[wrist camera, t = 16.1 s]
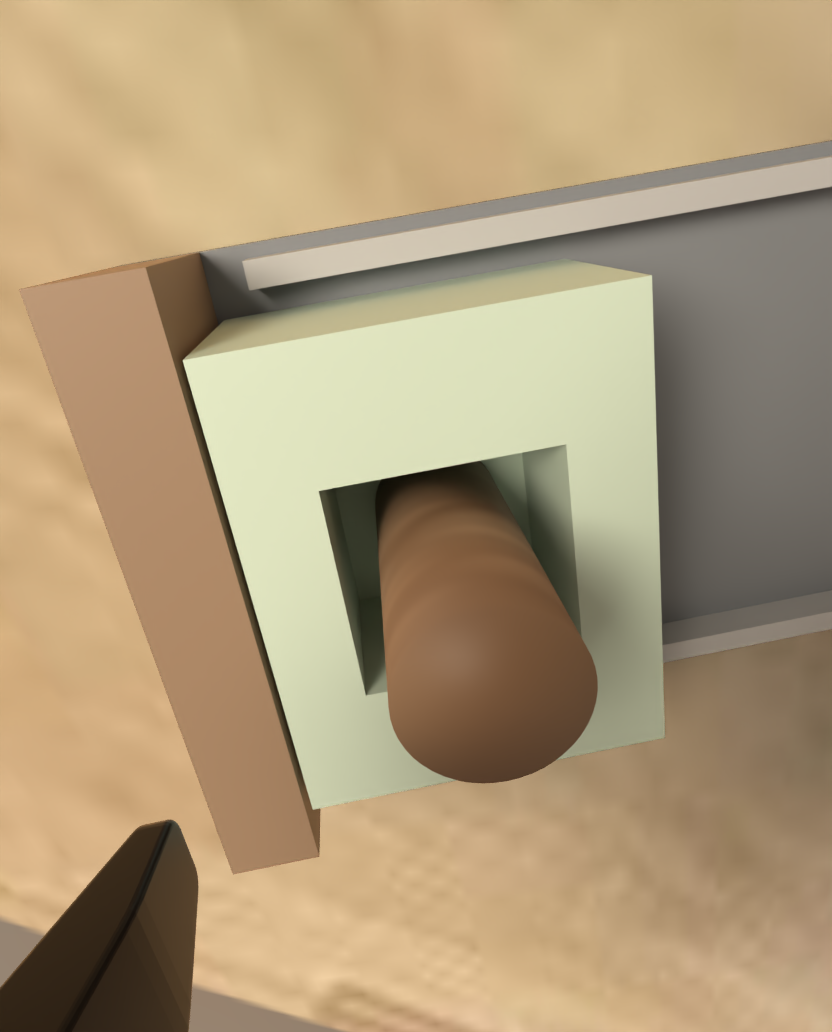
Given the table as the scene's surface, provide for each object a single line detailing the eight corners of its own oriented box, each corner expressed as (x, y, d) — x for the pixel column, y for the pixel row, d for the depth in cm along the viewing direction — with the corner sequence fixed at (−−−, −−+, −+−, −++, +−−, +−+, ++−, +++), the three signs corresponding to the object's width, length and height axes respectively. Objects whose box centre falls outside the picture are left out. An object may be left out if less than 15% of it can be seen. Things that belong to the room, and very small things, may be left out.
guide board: (940, 120, 18) (1218, 78, 12) (886, 584, 23) (1064, 702, 17) (122, 265, 17) (18, 289, 11) (258, 709, 22) (233, 874, 16)
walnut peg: (488, 433, 17) (588, 586, 10) (504, 547, 18) (605, 761, 11) (364, 456, 17) (369, 628, 10) (387, 569, 18) (408, 799, 11)
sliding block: (565, 258, 17) (651, 274, 12) (591, 622, 21) (665, 737, 16) (224, 320, 17) (182, 360, 12) (317, 676, 20) (312, 809, 16)
